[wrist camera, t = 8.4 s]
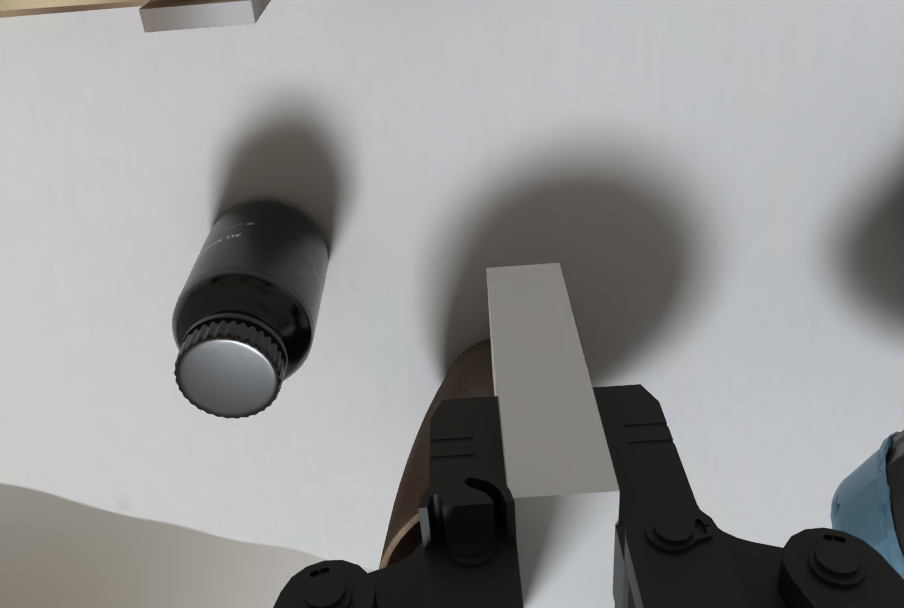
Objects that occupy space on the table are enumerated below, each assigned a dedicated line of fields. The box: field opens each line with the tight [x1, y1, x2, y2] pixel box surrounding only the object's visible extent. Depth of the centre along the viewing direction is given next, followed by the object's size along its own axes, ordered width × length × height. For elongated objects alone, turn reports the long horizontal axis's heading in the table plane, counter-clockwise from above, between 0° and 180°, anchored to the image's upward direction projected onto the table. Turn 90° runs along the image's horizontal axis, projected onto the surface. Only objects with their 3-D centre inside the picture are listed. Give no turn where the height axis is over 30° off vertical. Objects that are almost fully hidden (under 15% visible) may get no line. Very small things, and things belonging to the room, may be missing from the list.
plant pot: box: [379, 339, 616, 608], centre depth 46 cm, size 15×15×16 cm
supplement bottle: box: [172, 200, 328, 419], centre depth 42 cm, size 7×7×12 cm
